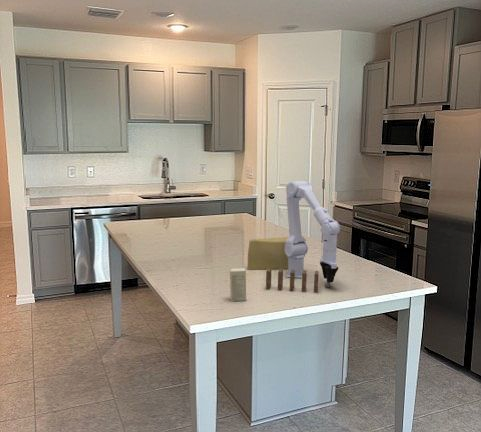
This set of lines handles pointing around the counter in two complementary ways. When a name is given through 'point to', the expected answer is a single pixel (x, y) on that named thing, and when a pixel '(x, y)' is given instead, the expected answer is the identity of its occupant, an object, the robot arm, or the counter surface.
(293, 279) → the walnut domino
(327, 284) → the grey domino
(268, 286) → the walnut domino
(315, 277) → the walnut domino
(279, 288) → the walnut domino
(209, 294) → the counter surface
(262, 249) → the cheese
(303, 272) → the walnut domino
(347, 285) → the counter surface
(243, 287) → the skincare box
